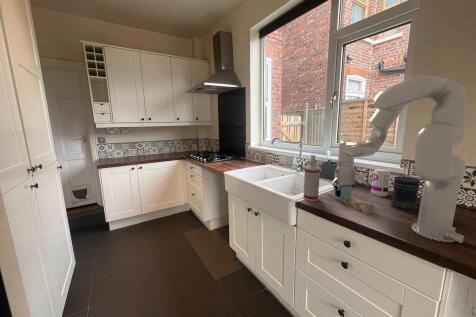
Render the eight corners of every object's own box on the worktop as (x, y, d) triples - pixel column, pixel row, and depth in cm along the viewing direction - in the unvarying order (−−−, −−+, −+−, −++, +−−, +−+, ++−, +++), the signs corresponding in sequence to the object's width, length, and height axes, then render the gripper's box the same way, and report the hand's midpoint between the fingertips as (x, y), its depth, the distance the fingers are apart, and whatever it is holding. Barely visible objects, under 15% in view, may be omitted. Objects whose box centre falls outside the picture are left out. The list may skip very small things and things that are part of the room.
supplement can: (373, 196, 120) (376, 171, 117) (369, 191, 127) (371, 168, 125) (389, 197, 117) (393, 172, 115) (384, 192, 125) (387, 168, 122)
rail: (373, 213, 98) (375, 198, 96) (366, 214, 97) (367, 199, 95) (339, 196, 120) (340, 184, 118) (333, 197, 119) (334, 184, 117)
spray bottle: (300, 198, 117) (302, 154, 113) (308, 195, 122) (310, 153, 117) (312, 202, 111) (315, 156, 107) (320, 199, 116) (323, 155, 111)
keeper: (350, 200, 113) (352, 186, 111) (341, 201, 111) (342, 187, 110) (344, 197, 117) (345, 183, 116) (334, 198, 116) (335, 184, 115)
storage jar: (420, 212, 98) (425, 182, 95) (396, 210, 100) (401, 181, 97) (407, 204, 108) (411, 176, 105) (386, 203, 110) (390, 175, 107)
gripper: (336, 166, 105) (333, 199, 108) (364, 164, 109) (361, 196, 112) (327, 163, 112) (324, 194, 116) (353, 161, 116) (351, 192, 119)
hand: (342, 195), depth 114 cm, fingers closed on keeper, 6 cm apart
